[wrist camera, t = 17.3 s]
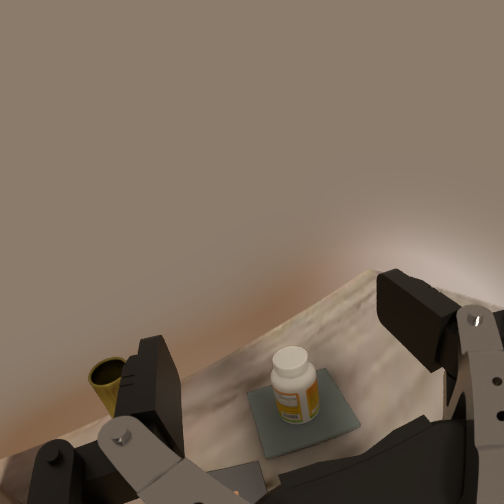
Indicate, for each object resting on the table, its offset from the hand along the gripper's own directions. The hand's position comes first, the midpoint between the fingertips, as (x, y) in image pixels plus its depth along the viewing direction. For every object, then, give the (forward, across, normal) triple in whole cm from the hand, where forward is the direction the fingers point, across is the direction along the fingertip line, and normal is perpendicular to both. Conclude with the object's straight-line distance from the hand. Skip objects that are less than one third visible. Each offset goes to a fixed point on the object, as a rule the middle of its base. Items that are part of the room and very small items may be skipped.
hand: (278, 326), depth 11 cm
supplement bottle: (+18, -4, +27) cm, 32 cm away
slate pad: (+18, -4, +27) cm, 33 cm away
